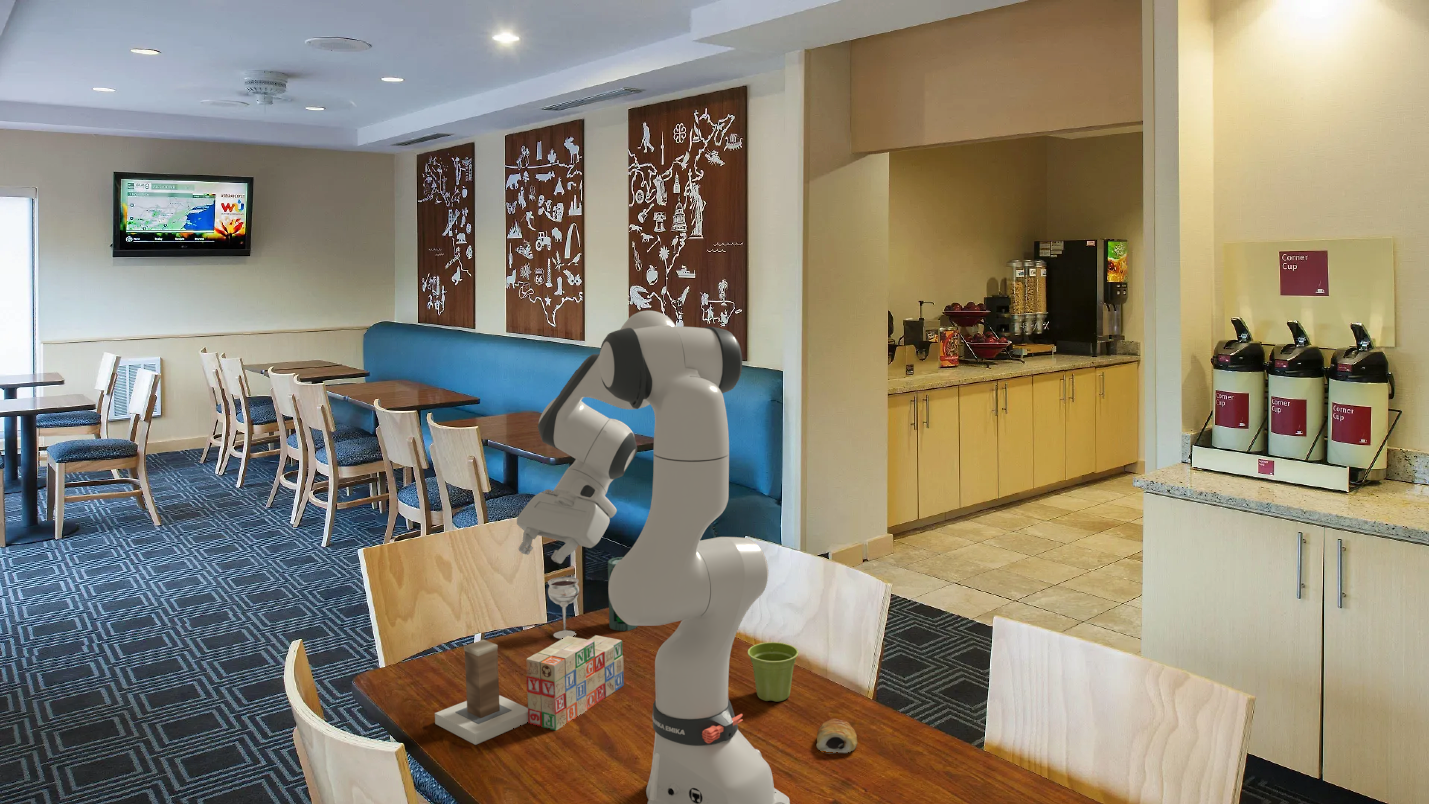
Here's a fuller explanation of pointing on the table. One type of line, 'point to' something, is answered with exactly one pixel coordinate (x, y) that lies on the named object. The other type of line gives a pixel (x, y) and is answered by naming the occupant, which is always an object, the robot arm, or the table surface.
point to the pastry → (836, 737)
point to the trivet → (482, 720)
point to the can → (614, 619)
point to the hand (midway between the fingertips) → (539, 556)
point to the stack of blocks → (572, 678)
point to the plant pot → (773, 669)
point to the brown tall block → (482, 678)
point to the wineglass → (563, 598)
